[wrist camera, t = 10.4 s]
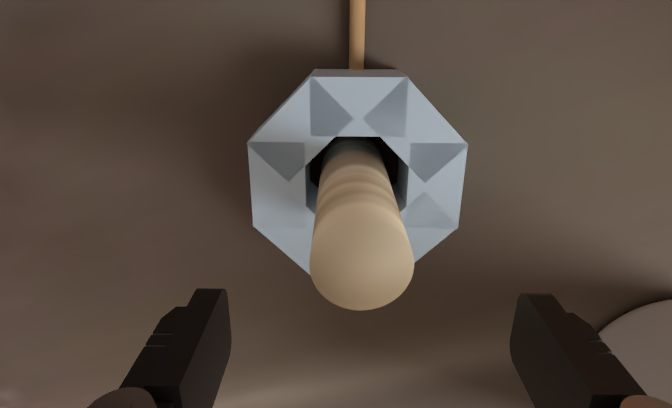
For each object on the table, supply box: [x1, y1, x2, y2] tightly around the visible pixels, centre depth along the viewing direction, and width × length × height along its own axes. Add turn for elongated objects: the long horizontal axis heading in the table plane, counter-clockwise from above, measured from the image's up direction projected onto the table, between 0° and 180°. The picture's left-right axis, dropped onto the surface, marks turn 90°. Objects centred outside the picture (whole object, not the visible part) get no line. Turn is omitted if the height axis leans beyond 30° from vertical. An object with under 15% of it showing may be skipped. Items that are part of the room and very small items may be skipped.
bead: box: [247, 69, 468, 275], centre depth 25 cm, size 11×11×4 cm
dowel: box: [309, 136, 414, 310], centre depth 21 cm, size 4×4×12 cm
